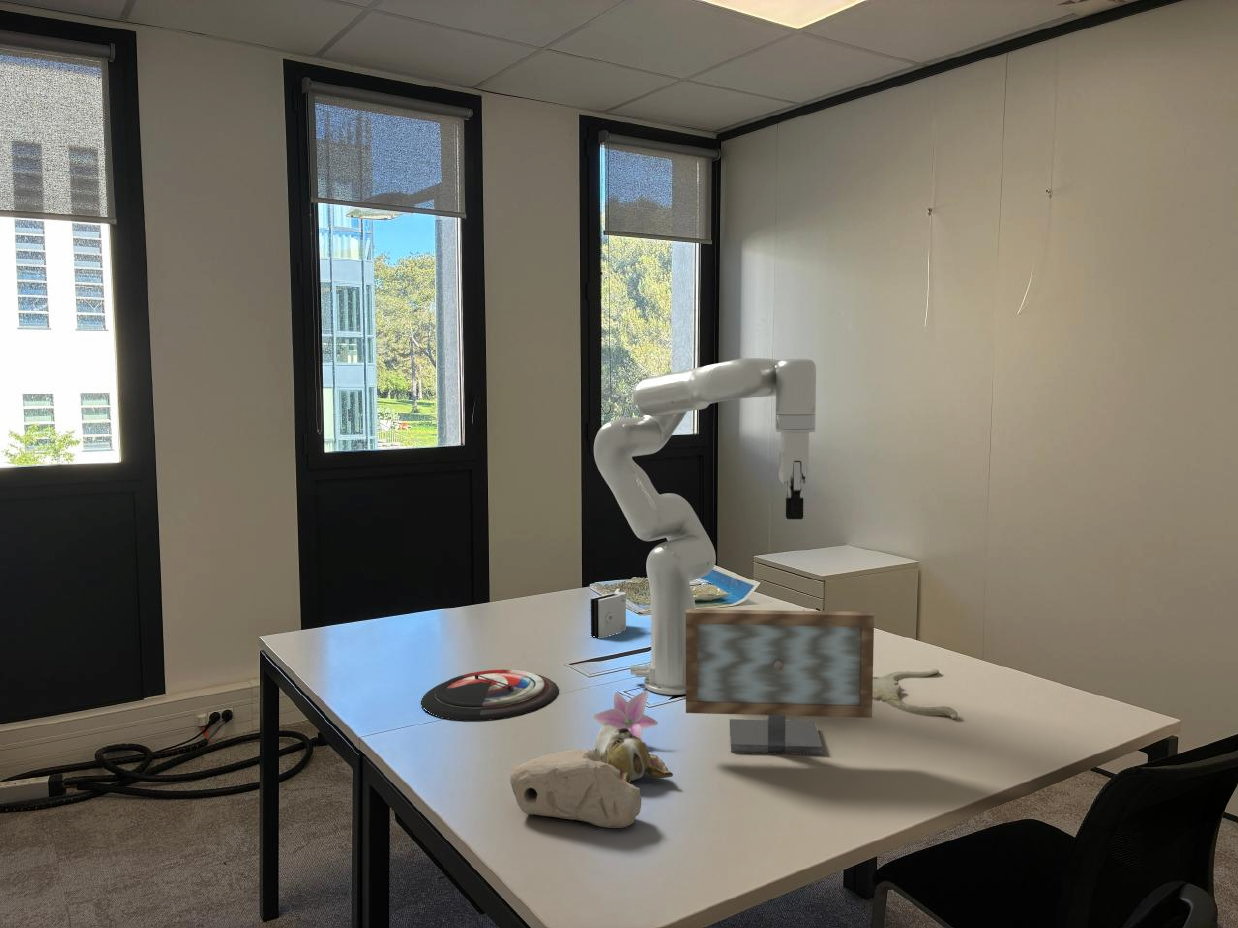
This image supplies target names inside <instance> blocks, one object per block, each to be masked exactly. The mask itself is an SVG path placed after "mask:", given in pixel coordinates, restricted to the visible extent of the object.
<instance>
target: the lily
mask: <svg viewBox="0 0 1238 928" xmlns="http://www.w3.org/2000/svg"><path fill="white" fill-rule="evenodd" d="M648 696H649V690H644V691H642V692H639V693H637V695H635V696H633V697H632V698H631V699H630V700H629V701H627V699H626V698H624V696H622V694H620V693H619V692H614V697H613V707H614V708H610V709H607V710H604V711H600V712H598V713H596V714H594V715H593V716H592V719H593V720H594V721H595V722H596V723H598V724H600V725H602V724H603V723H604V722H606V723H608V724H609V725H612V726H614V727H617V728H619V729H622V728H627V729H628V730H630V731H631V732H632V734H633V736H636V737H638V738H639V739H640V740H641V741H642V740H643V739H642V736H643V735H642V730H647V729H649V728H653V727H655V726H658V725H659V722H658V721H657V720H656V719H654V718H652V717H650V716H649V715H646V714H644V713H645V709H646V706H647V702H648V701H647V700H648ZM642 742H643V741H642Z"/></svg>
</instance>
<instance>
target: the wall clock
mask: <svg viewBox="0 0 1238 928" xmlns="http://www.w3.org/2000/svg"><path fill="white" fill-rule="evenodd" d="M558 694H559V686H558V685H557V683H555V682H554V681H553V680H551V679H550V678H548V677H545V676H543V675H541V674H537V673H533V672H530V671H524V670H518V669H488V670H479V671H475V672H469V673H465V674H462V675H458V676H456V677H453V678H450V679H448V680H446V681H443V682H442V683H440V684H437V685H436V686H434V687H433V688H431V689H430V690H428V691H427V692H426V693H425V694H423V696H422V697H423V698H422V697H421V699H422V700H420V702H421V703H420V706H421V705H422V707H421V709H423V708H425V709H426V710H427V711H429V712H430V713H432V714H434V715H437V716H439V717H438V718H440V717H443V718H442V719H444V718H449V719H448V720H450V719H458V720H457V721H461V720H483V721H490V720H489V719H494V720H499V719H498V718H501V719H505V718H504V717H508V718H511V717H510V716H512V717H515V715H517V716H520V715H519V714H521V715H524V714H527V713H526V712H528V713H530V711H531V712H534V711H535V710H538V709H540V708H543V707H544V706H546V705H547V704H549V703H551V702H552V701H554V700H555V699H556V698H557V696H558ZM533 710H534V711H533ZM523 713H524V714H523ZM437 716H436V717H437Z"/></svg>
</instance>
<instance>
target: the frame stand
mask: <svg viewBox="0 0 1238 928" xmlns="http://www.w3.org/2000/svg"><path fill="white" fill-rule="evenodd" d="M729 739H730V740H729V742H730V752H731V753H741V754H742V753H744V754H745V753H746V754H779V755H780V754H783V755H807V756H808V755H811V756H822V755H823V744H822V741H821V738H820V735H819V731H818V728H817V724H816V722H815V720H814V721H813V720H812V721H809V720H786V716H779V715H767V719H738V718H737V719H735V718H734V719H733V718H730V719H729Z"/></svg>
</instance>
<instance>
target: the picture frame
mask: <svg viewBox="0 0 1238 928" xmlns="http://www.w3.org/2000/svg"><path fill="white" fill-rule="evenodd" d="M874 633H875V614H874V613H873V612H872V611H844V610H843V611H838V610H835V611H833V610H832V611H831V610H830V611H828V610H781V609H780V610H776V609H774V610H773V609H772V610H771V609H769V610H768V609H767V610H766V609H764V610H763V609H714V608H713V609H709V608H707V609H706V608H705V609H704V608H703V609H702V608H701V609H698V608H695V609H686V694H685V714H707V715H708V714H709V715H710V714H712V715H744V716H745V715H746V716H747V715H749V716H768V715H779V716H785V717H822V718H823V717H824V718H825V717H826V718H856V719H857V718H859V719H861V718H865V719H872V718H873V677H874V649H875V648H874V646H875V645H874V641H875V640H874V639H875V638H874V637H875V636H874V635H875V634H874Z"/></svg>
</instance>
